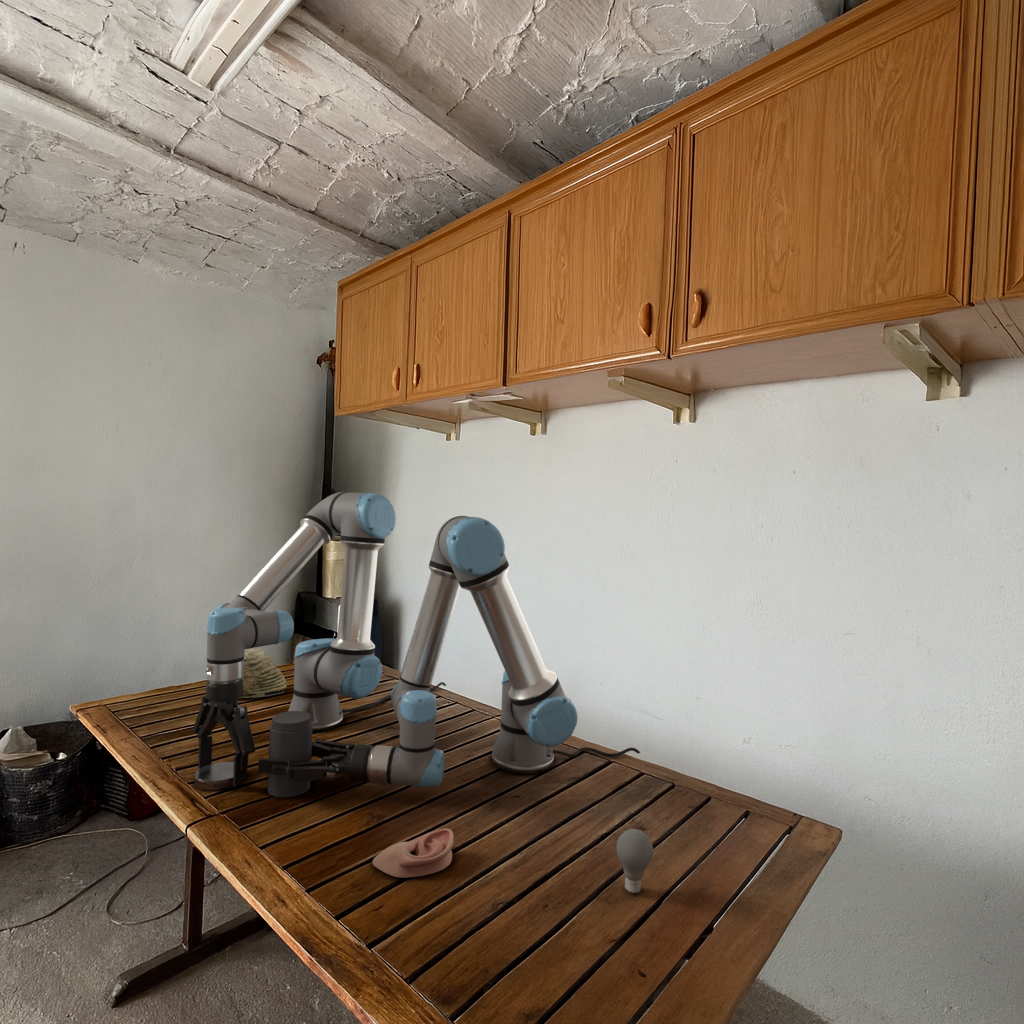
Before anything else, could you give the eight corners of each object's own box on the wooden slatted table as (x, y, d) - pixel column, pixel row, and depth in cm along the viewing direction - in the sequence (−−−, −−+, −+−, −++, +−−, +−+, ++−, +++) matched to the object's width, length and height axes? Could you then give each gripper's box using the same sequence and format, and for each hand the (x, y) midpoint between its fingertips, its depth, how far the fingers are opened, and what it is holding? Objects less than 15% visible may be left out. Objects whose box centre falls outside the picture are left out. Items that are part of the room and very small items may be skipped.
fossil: (218, 695, 195) (220, 647, 195) (278, 685, 208) (279, 640, 207) (228, 703, 189) (230, 653, 188) (289, 692, 201) (290, 645, 201)
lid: (228, 766, 146) (228, 757, 146) (253, 778, 141) (254, 769, 141) (185, 781, 138) (185, 772, 138) (211, 795, 132) (211, 785, 132)
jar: (313, 793, 135) (316, 721, 135) (270, 800, 131) (272, 726, 131) (306, 776, 143) (309, 708, 143) (264, 783, 139) (267, 712, 139)
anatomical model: (365, 849, 107) (391, 816, 119) (364, 872, 107) (390, 837, 119) (440, 861, 105) (459, 827, 116) (439, 885, 105) (459, 848, 116)
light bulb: (610, 879, 108) (613, 822, 108) (644, 879, 109) (647, 822, 109) (619, 902, 102) (622, 840, 102) (655, 901, 103) (658, 840, 103)
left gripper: (177, 672, 143) (175, 765, 144) (242, 695, 129) (239, 798, 130) (209, 665, 149) (206, 754, 150) (274, 687, 135) (271, 785, 136)
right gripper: (354, 805, 125) (244, 796, 127) (384, 760, 147) (289, 753, 148) (356, 767, 125) (245, 759, 127) (385, 728, 146) (291, 721, 148)
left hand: (221, 775), depth 140 cm, fingers open, 13 cm apart
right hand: (269, 756), depth 137 cm, fingers closed on jar, 9 cm apart
